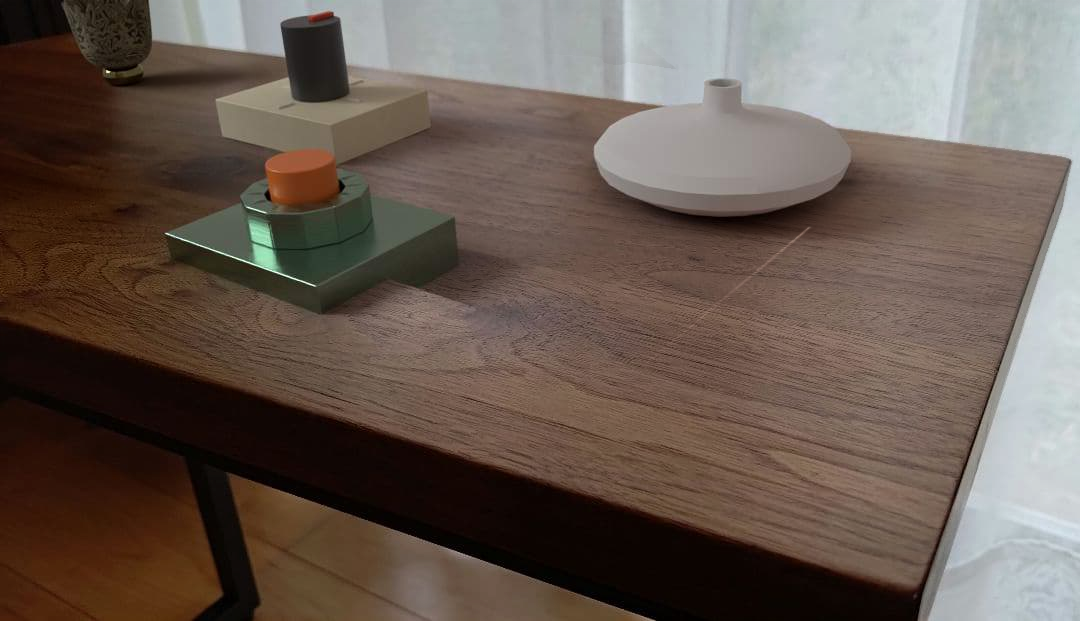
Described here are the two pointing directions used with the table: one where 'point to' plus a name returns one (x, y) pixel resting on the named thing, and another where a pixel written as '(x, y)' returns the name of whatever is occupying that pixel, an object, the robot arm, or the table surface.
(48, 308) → the table surface
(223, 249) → the button base
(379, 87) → the dial panel
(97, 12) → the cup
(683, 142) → the vase
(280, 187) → the orange push button
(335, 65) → the dial
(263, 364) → the table surface
